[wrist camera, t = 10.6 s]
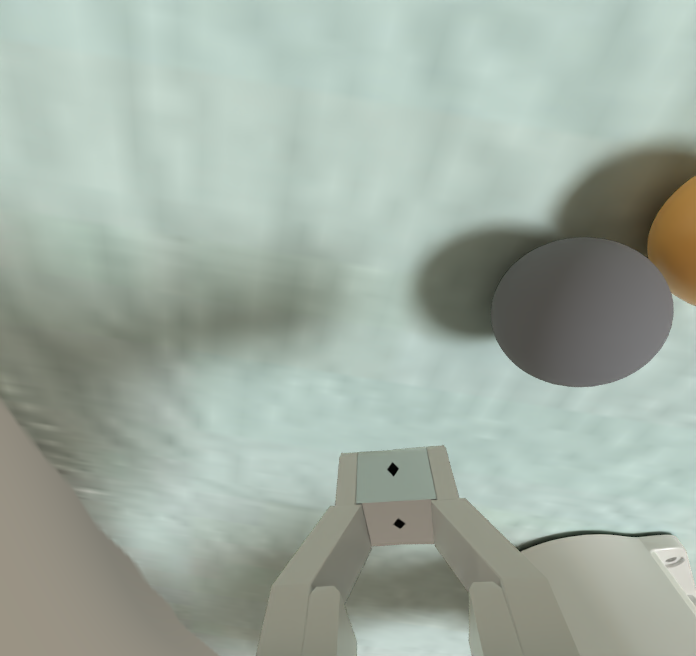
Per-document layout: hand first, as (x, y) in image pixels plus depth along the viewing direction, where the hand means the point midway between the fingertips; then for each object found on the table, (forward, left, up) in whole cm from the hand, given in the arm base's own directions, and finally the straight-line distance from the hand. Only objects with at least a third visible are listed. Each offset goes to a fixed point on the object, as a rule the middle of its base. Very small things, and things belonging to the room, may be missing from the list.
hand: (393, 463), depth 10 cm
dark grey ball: (-4, -7, -6) cm, 10 cm away
